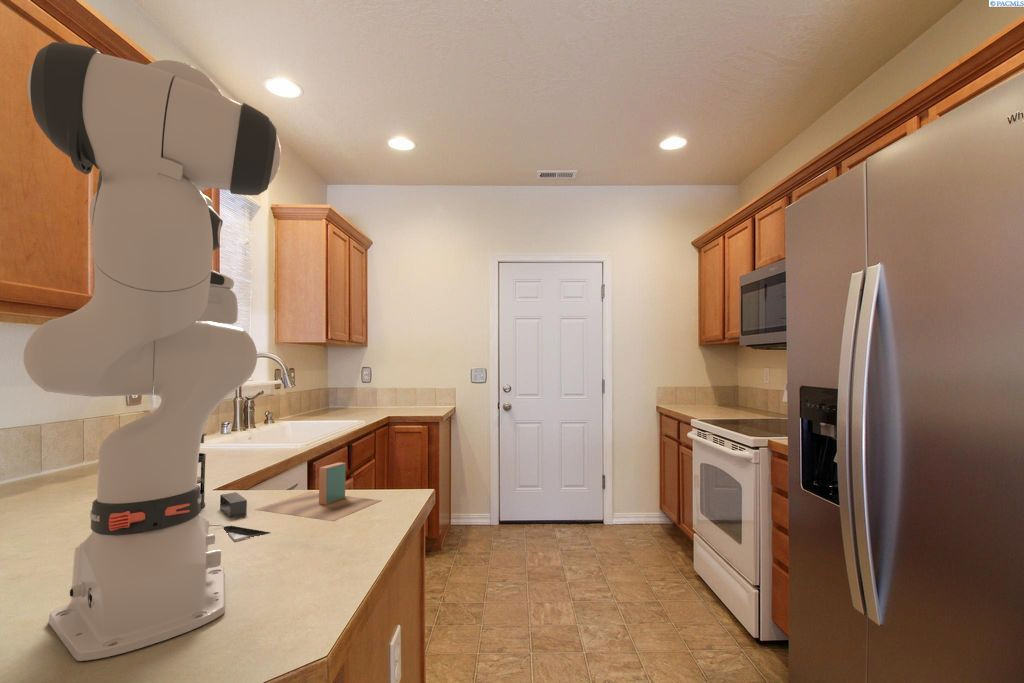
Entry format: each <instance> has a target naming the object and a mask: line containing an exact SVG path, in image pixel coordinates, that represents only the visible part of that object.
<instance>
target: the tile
mask: <svg viewBox="0 0 1024 683" xmlns="http://www.w3.org/2000/svg"><path fill="white" fill-rule="evenodd" d="M318 471H319V473H318V474H319V476H318V477H319V478H318V480H319V481H318V482H319V485H318V488H319V489H318V493H319V504H329V503H331V502H334V501H337V500H339V499H342V498H345V496H346V462H335V463H332V464H329V465H328V464H327V465H324V466H320V467H319V470H318Z"/></svg>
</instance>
